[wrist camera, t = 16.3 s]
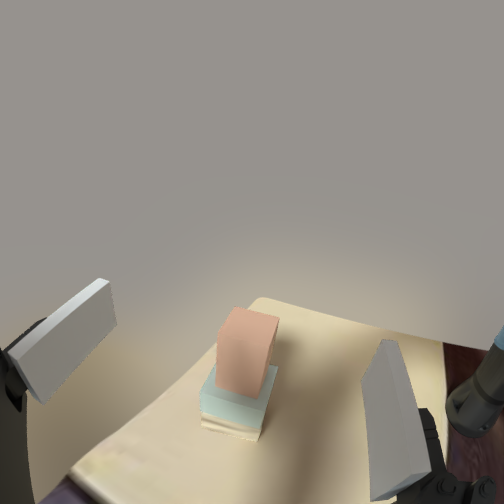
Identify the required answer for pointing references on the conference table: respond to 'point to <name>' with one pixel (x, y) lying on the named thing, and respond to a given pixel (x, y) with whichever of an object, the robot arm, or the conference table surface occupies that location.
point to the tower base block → (230, 427)
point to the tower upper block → (236, 401)
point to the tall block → (245, 351)
